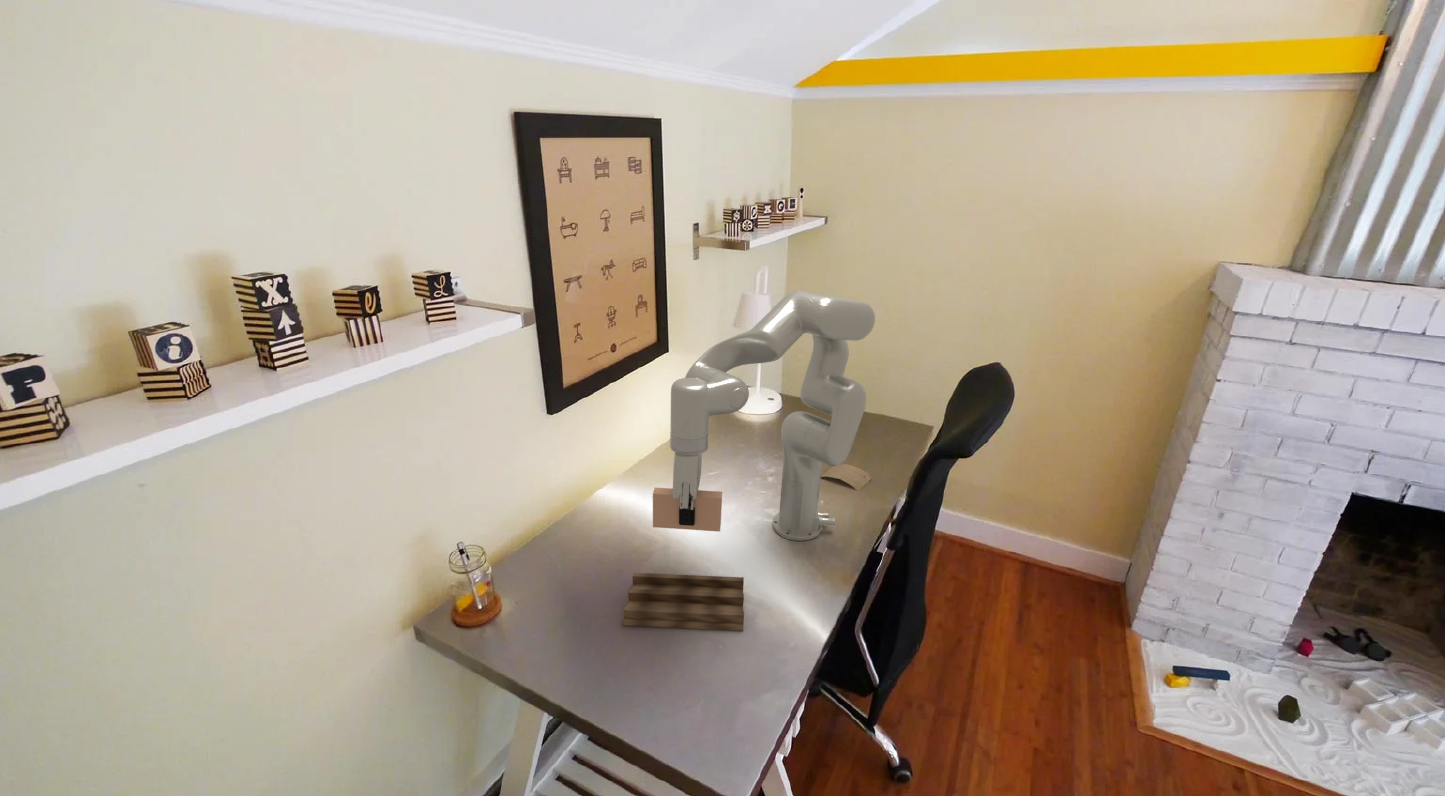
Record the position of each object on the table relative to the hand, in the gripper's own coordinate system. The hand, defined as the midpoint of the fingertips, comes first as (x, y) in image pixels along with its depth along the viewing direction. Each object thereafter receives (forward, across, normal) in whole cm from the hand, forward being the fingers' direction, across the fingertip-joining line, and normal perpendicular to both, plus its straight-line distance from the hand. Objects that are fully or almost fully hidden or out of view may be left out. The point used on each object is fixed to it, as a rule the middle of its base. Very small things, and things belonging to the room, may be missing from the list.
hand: (687, 519), depth 123 cm
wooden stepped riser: (+18, +6, +1) cm, 19 cm away
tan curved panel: (+17, -53, +42) cm, 70 cm away
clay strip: (+2, 0, 0) cm, 2 cm away
